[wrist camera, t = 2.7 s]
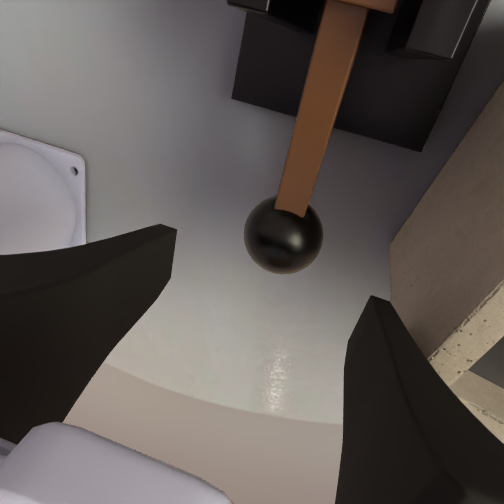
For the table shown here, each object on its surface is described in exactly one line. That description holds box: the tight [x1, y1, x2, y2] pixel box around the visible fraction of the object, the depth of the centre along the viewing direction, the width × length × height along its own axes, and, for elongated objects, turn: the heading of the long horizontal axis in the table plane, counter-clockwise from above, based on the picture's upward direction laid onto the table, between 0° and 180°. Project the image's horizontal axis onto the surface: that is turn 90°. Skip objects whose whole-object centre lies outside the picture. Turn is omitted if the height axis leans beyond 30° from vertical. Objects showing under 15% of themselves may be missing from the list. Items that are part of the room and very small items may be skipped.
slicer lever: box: [244, 0, 399, 274], centre depth 11 cm, size 12×3×3 cm, turn 167°
